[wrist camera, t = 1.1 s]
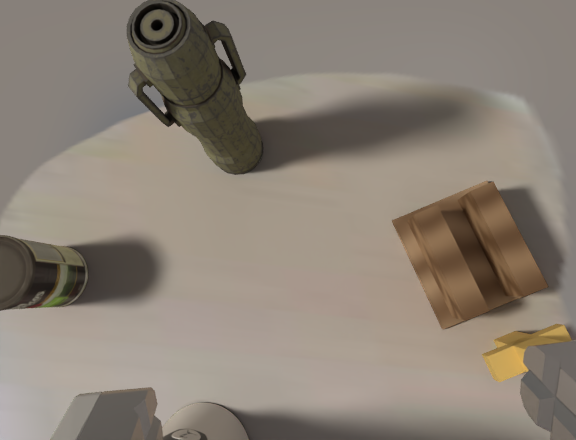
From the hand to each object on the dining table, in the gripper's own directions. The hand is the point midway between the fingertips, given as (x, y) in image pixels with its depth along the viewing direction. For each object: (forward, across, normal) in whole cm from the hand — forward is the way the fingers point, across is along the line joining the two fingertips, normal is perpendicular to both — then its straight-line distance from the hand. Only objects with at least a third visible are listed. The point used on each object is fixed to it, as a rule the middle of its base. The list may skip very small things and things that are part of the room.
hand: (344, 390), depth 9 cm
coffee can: (+62, -36, -21) cm, 75 cm away
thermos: (+66, -4, -3) cm, 66 cm away
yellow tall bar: (+45, +33, -33) cm, 65 cm away
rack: (+52, +29, -20) cm, 63 cm away
